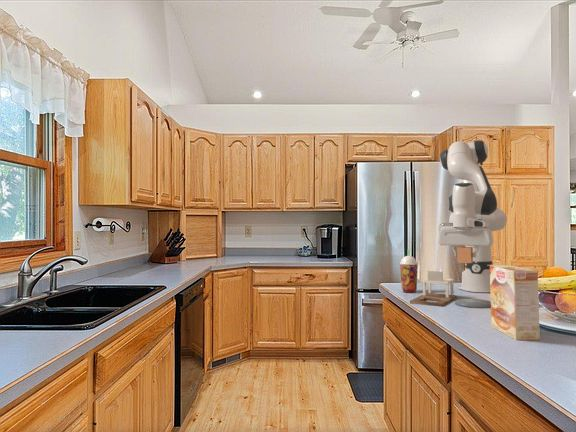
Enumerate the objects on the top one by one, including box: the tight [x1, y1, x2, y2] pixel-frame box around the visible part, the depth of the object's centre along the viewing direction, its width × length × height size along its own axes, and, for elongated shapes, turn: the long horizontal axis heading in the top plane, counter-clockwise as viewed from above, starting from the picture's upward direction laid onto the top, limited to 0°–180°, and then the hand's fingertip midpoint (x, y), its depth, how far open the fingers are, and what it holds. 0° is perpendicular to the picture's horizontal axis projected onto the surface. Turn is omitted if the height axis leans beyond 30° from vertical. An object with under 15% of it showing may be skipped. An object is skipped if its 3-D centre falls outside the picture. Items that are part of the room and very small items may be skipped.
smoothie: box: [399, 249, 419, 294], centre depth 196 cm, size 8×8×20 cm
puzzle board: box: [409, 292, 457, 307], centre depth 174 cm, size 22×13×1 cm, turn 144°
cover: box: [421, 270, 455, 297], centre depth 179 cm, size 9×11×11 cm
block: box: [456, 246, 473, 264], centre depth 165 cm, size 5×5×6 cm
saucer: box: [454, 298, 491, 309], centre depth 164 cm, size 14×14×1 cm
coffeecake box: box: [490, 264, 541, 341], centre depth 122 cm, size 15×7×20 cm, turn 178°
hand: (465, 257), depth 165 cm, fingers closed on block, 5 cm apart
